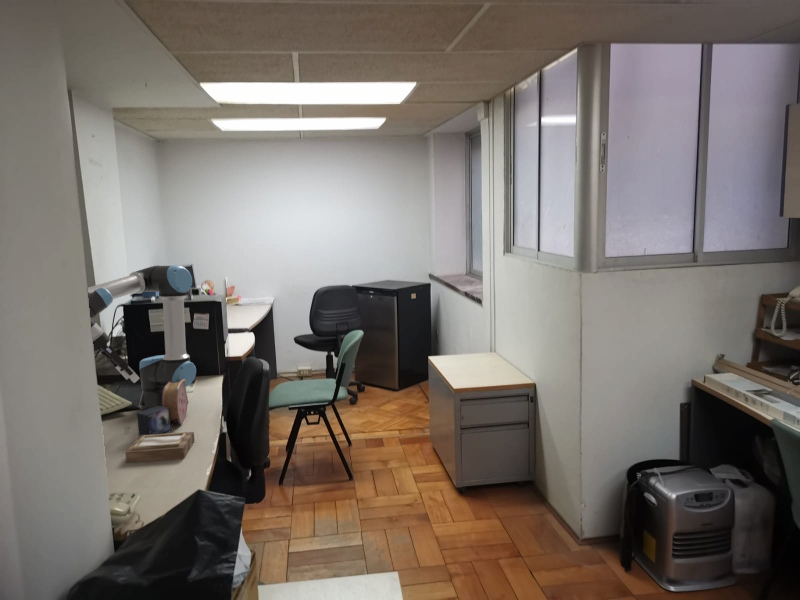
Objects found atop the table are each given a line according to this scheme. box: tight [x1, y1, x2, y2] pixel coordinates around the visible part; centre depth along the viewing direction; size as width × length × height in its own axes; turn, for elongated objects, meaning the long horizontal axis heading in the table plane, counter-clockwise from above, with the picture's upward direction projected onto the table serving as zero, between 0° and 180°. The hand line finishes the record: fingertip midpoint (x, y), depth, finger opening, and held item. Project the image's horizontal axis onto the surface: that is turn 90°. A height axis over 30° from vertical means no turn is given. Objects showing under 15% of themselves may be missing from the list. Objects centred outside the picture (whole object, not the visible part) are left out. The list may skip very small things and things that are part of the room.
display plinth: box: [124, 431, 196, 464], centre depth 222 cm, size 16×20×5 cm
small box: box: [136, 405, 171, 437], centre depth 240 cm, size 11×6×10 cm, turn 151°
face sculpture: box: [163, 379, 190, 427], centre depth 255 cm, size 20×7×17 cm, turn 10°
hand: (133, 379), depth 235 cm, fingers open, 13 cm apart
